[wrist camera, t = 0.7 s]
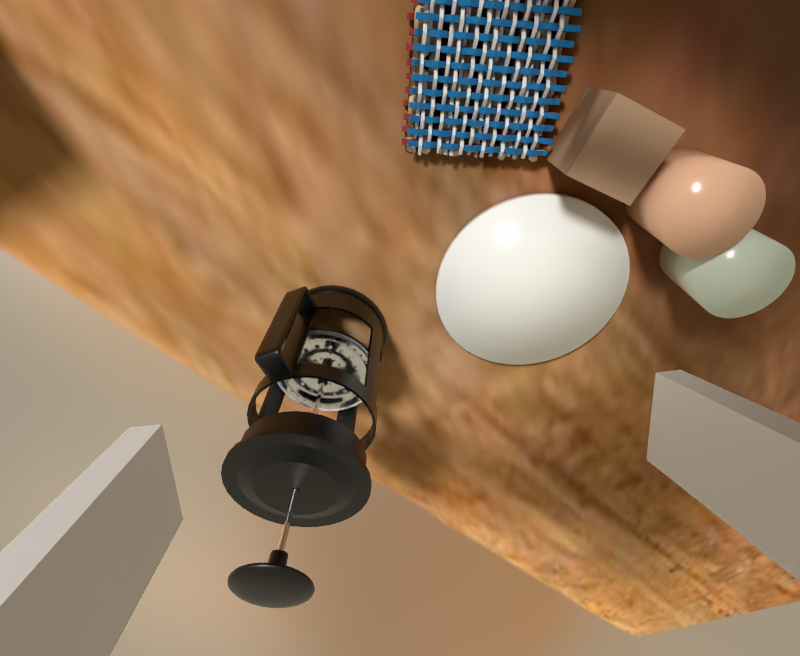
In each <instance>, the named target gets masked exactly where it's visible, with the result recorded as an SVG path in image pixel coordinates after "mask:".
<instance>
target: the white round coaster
mask: <svg viewBox="0 0 800 656" xmlns="http://www.w3.org/2000/svg"><path fill="white" fill-rule="evenodd" d="M629 271H630V266H629V255H628V250H627V246H626V244H625V241H624V238H623V236H622V235H621V233H620V231H619V230H618V228H617V227H616V225H615V224H614V223H613V222H612V221H611V220H610V219H609V218H608V217H607V216H606V215H605V214H604V213H602V212H601V211H600V210H599V209H597V208H596V207H595V206H593V205H591V204H590V203H588V202H586V201H584V200H582V199H579V198H576V197H574V196H570V195H566V194H561V193H551V192H539V193H529V194H524V195H518V196H515V197H512V198H509V199H505V200H503V201H501V202H499V203H496V204H494V205H492V206H490V207H489V208H487V209H485V210H484V211H482V212H480V213H479V214H478V215H476V216H475V217H474V218H472V219H471V220H470V221H469V222H468V223H467V224H466V225H465V226H464V227H463V228H462V229H461V230H460V231H459V232H458V233H457V234H456V236H455V237H454V238H453V239H452V241H451V242H450V244H449V246H448V247H447V249H446V251H445V253H444V255H443V257H442V260H441V262H440V265H439V269H438V272H437V278H436V300H437V306H438V312H439V315H440V318H441V320H442V322H443V324H444V326H445V328H446V330H447V331H448V333H449V334H450V335H451V337H452V338H453V339H454V340H455V341H456V342H457V343H458V344H459V345H460V346H462V347H463V348H464V349H465V350H467V351H468V352H470V353H472V354H474V355H475V356H478V357H480V358H482V359H485V360H488V361H492V362H496V363H501V364H511V365H524V364H533V363H539V362H544V361H548V360H551V359H554V358H557V357H560V356H562V355H564V354H567V353H569V352H571V351H573V350H575V349H576V348H578V347H580V346H581V345H583V344H584V343H586V342H587V341H589V340H590V339H591V338H592V337H594V336H595V335H596V334H597V333H598V332H599V331H600V330H601V329H602V328H603V327H604V326H605V325H606V324H607V323H608V322H609V320H610V319H611V318H612V316H613V315H614V313H615V312H616V310H617V308H618V307H619V305H620V303H621V301H622V299H623V296H624V294H625V291H626V288H627V284H628V279H629Z"/></svg>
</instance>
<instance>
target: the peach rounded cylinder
mask: <svg viewBox="0 0 800 656" xmlns="http://www.w3.org/2000/svg"><path fill="white" fill-rule="evenodd" d="M765 200H766V190H765V185H764V183H763V181H762V179H761V177H760V176H759V175H758V174H757V173H756V172H754V171H753V170H751V169H749V168H746V167H743V166H740V165H738V164H735V163H732V162H729V161H726V160H723V159H720V158H718V157H715V156H712V155H709V154H706V153H703V152H700V151H698V150H695V149H692V148H688V147H673V148H672V149H671V151H670V152H669V153H668V155H667V156H666V157H665V159H664V160H663V162H662V163H661V164H660V166H659V167H658V168H657V170H656V171H655V172H654V174H653V175H652V177H651V178H650V179H649V181H648V182H647V183H646V185H645V186H644V188H643V189H642V190H641V192H640V193H639V194H638V196H637V197H636V198H635V200H634V201H633V203H632V204H631V205H630V206H629V205H627V204H625V203H624V204H625V209H626V211H627V213H628V215H629V217H630V218H631V219H632V220H633V221H634V222H636V223H637V224H638V225H640V226H641V227H642V228H644V229H645V230H646V231H648V232H649V233H650V234H652V235H653V236H654V237H655V238H657V239H658V240H659V241H661V242H662V243H663V244H665V245H666V246H667V247H669V248H670V249H671V250H673V251H674V252H675V253H677V254H679V255H681V256H684V257H688V258H703V257H709V256H712V255H715V254H718V253H721V252H723V251H725V250H727V249H729V248H730V247H732V246H733V245H735V244H736V243H738V242H739V241H740V240H741V239H743V238H744V237H745V236H746V235H747V234H748V233H749V232H750V230H751V229H752V228H753V227H754V225H755V224H756V223H757V221H758V219H759V218H760V216H761V213H762V211H763V208H764V205H765Z"/></svg>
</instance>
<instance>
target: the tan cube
mask: <svg viewBox="0 0 800 656" xmlns="http://www.w3.org/2000/svg"><path fill="white" fill-rule="evenodd" d="M685 130H686V129H684V128H682V127H680V126H678V125H676V124H675V123H673V122H671V121H669V120H667V119H665V118H664V117H662V116H660V115H658V114H656V113H654V112H653V111H651V110H649V109H647V108H645V107H643V106H642V105H640V104H638V103H636V102H634V101H632V100H631V99H629V98H627V97H625V96H623V95H621V94H620V93H618V92H613V91H608V90H603V89H599V88H594V87H589V86H587V87H586V89H585V91H584V92H583V94H582V96H581V98H580V99H579V101H578V103H577V104H576V106H575V108H574V110H573V111H572V113H571V115H570V116H569V118H568V120H567V122H566V123H565V125H564V127H563V129H562V130H561V132H560V134H559V135H558V137H557V139H556V141H555V142H554V144H553V146H552V147H551V149H550V151H549V153H548V154H547V156H546V158H545V159H546V160H548V161H549V162H550V163H551V164H553V165H554V166H555V167H556V168H558V169H559V170H560V171H561V172H563V173H564V174H565V175H567V176H569V177H571V178H573V179H575V180H577V181H579V182H581V183H583V184H585V185H587V186H589V187H592V188H594V189H596V190H598V191H600V192H602V193H604V194H606V195H608V196H610V197H612V198H614V199H617V200H619V201H621V202H623V203H625V204H627V205H629V206H630V205H631V204H632V203H633V201H634V200H635V198H636V197H637V196H638V194H639V193H640V192H641V190H642V189H643V188H644V186H645V185H646V183H647V182H648V181H649V179H650V178H651V177H652V175H653V174H654V172H655V171H656V170H657V168H658V167H659V166H660V164H661V163H662V162H663V160H664V159H665V157H666V156H667V155H668V153H669V152H670V151H671V149H672V148H673V147H674V145H675V144H676V142H677V141H678V140H679V138H680V137H681V136H682V134H683V133H684V132H685Z"/></svg>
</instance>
